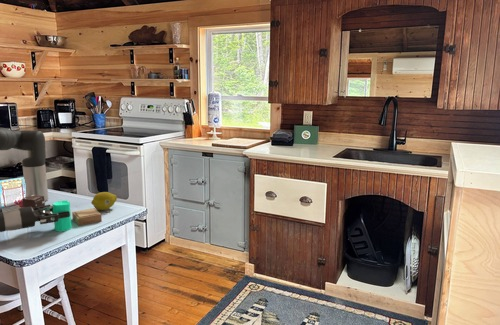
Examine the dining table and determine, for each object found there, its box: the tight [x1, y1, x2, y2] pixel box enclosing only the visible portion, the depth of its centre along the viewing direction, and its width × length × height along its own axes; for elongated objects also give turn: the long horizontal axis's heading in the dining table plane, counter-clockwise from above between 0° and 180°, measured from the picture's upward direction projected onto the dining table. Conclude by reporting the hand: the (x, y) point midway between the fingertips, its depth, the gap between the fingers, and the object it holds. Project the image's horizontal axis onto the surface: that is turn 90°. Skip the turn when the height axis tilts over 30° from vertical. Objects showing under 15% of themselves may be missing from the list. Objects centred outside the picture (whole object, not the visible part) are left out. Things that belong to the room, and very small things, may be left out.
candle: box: [52, 200, 73, 232], centre depth 147 cm, size 6×6×12 cm
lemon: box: [91, 191, 118, 211], centre depth 169 cm, size 11×8×8 cm
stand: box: [71, 207, 102, 227], centre depth 157 cm, size 9×9×3 cm
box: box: [21, 195, 46, 210], centre depth 162 cm, size 6×6×7 cm
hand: (66, 210), depth 148 cm, fingers open, 8 cm apart
